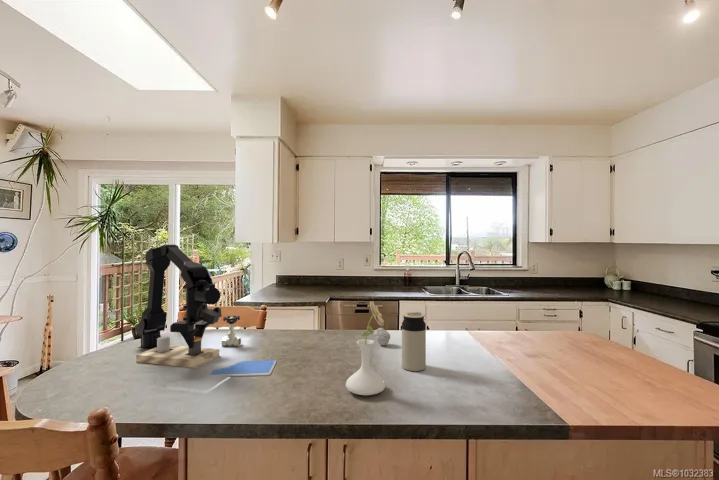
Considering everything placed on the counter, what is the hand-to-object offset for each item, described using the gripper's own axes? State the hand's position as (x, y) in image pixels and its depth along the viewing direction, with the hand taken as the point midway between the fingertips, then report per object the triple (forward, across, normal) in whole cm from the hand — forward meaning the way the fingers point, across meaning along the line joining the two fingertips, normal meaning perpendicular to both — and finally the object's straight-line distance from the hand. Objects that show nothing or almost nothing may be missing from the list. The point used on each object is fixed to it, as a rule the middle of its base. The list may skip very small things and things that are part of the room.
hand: (194, 346), depth 117 cm
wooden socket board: (+6, +1, +6) cm, 9 cm away
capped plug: (+4, 0, 0) cm, 4 cm away
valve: (+6, +18, -4) cm, 19 cm away
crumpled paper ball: (+6, +27, -65) cm, 71 cm away
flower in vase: (+6, -15, -62) cm, 64 cm away
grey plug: (+5, +2, +13) cm, 14 cm away
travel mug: (+6, +3, -76) cm, 77 cm away
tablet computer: (+6, -4, -20) cm, 21 cm away
